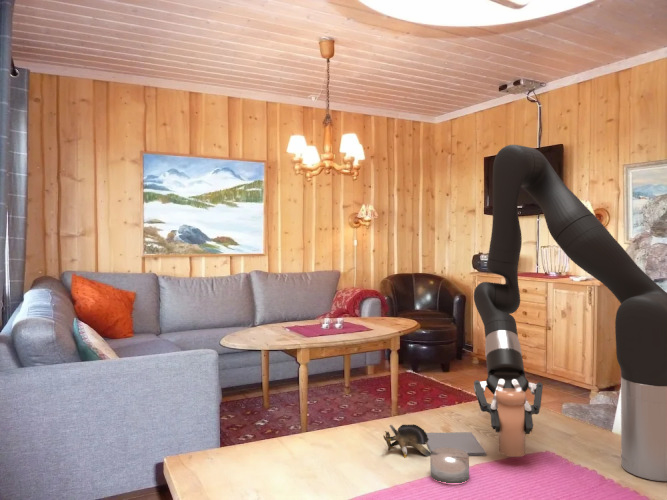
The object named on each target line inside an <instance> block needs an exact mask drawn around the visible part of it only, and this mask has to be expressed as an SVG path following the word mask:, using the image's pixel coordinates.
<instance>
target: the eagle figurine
mask: <svg viewBox="0 0 667 500" xmlns="http://www.w3.org/2000/svg"><path fill="white" fill-rule="evenodd" d="M389 428H390V429H391V431H392V432H393V434H394V435H393V436H391V434H390V431H386V430H385V431H384V432H385V434H383V435H382V436H383V440H385V442H386V445H387V451H388V452H391V450H392V449H393V448H394V447H395V446H399V447H400V449H401V451H402V453H403V457H404V459H405V458H407V455H408V450H407V447H412V448H413V449H415V450H417V451H419V452H420V453H421V454H423V455H424V456H425V457H429V456H430V453H431V452H430V450H429V449H427V448H426V447H425V446H426V445H427V444H426V442H428V440H429V439H428V437H427V436H428V435H427V434H426V433H427V432H426V431H425V429H423V428H422V427H420V426H419V425H417V424H401V425H400V426H399V427H397V428H398V429H396V428H395V427H394V426H393V424H389ZM393 441H394V442H393ZM391 442H392V443H391ZM424 445H425V446H424Z"/></svg>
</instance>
